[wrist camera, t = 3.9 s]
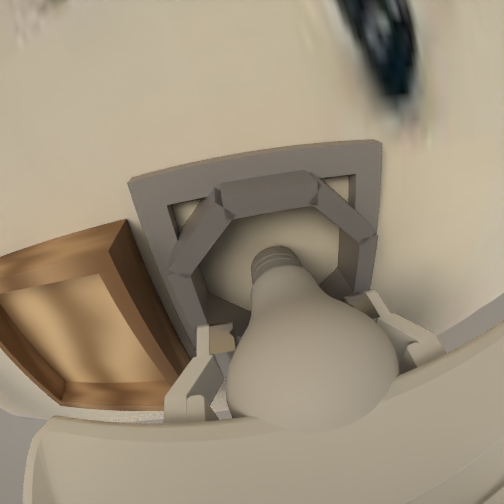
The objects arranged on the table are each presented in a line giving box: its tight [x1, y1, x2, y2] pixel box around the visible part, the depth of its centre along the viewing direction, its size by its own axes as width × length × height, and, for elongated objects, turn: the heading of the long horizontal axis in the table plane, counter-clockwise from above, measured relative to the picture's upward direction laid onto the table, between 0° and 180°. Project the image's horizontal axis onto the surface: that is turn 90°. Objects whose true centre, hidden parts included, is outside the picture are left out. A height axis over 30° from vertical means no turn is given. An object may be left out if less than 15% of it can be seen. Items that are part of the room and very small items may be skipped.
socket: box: [127, 140, 382, 351], centre depth 14 cm, size 12×12×2 cm
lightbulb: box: [226, 246, 400, 432], centre depth 11 cm, size 6×6×11 cm
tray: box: [0, 219, 191, 411], centre depth 16 cm, size 15×15×3 cm
